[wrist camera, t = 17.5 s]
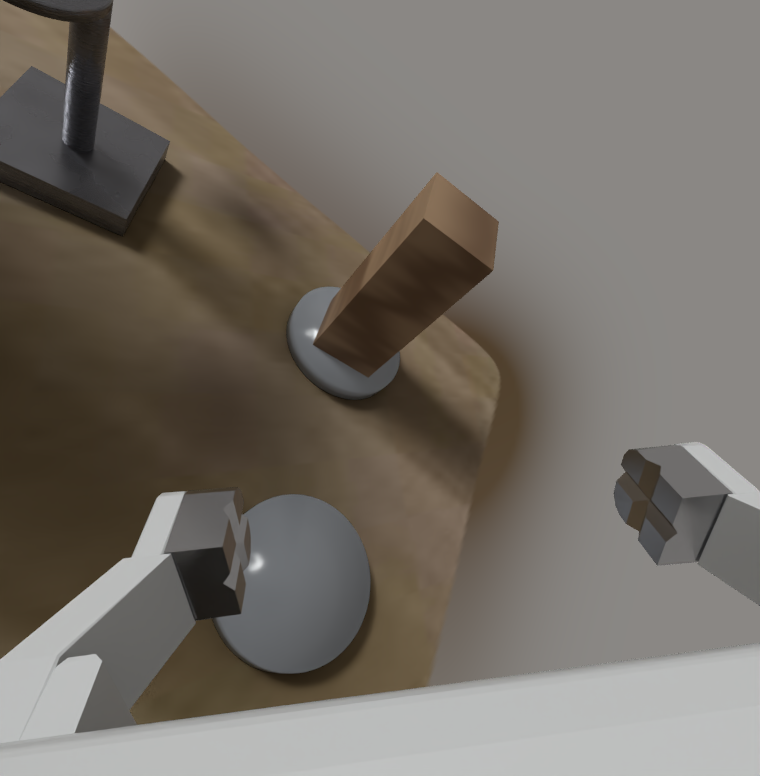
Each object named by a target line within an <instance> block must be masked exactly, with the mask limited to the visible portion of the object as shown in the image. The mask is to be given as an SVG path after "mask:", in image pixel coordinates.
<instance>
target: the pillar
mask: <svg viewBox="0 0 760 776" xmlns="http://www.w3.org/2000/svg"><path fill="white" fill-rule="evenodd" d="M498 223H499V222H498V221H497V220H496V219H495V218H493V217H492V216H491V215H490V214H488V213H487V212H486V211H485V210H483V209H482V208H481V207H480V206H478V205H477V204H476V203H475V202H474V201H472V200H471V199H470V198H469V197H467V196H466V195H465V194H463V193H462V192H461V191H460V190H458V189H457V188H456V187H455V186H454V185H452V184H451V183H450V182H449V181H447V180H446V179H445V178H444V177H442V176H441V175H440V174H438V173H436V174H435V175H434V176H433V177H432V179H431V180H430V181H429V182H428V183H427V185H426V186H425V187H424V189H423V190H422V191H421V192H420V193H419V194H418V196H417V197H416V198H415V199H414V200H413V202H412V203H411V204H410V205H409V207H408V208H407V209H406V210H405V211H404V213H403V214H402V215H401V216H400V217H399V219H398V220H397V221H396V222H395V224H394V225H393V226H392V227H391V228H390V230H389V231H388V232H387V233H386V234H385V236H384V237H383V238H382V239H381V241H380V242H379V243H378V244H377V245H376V247H375V248H374V249H373V250H372V251H371V253H370V254H369V255H368V256H367V258H366V259H365V260H364V261H363V262H362V264H361V265H360V266H359V267H358V268H357V270H356V271H355V272H354V273H353V275H352V276H351V277H350V278H349V279H348V281H347V282H346V283H345V284H344V285H343V287H342V288H341V289H340V290H339V292H338V293H337V294H336V295H335V296H334V298H333V299H332V300H331V302H330V304H329V307H328V309H327V311H326V314H325V316H324V319H323V321H322V323H321V326H320V328H319V330H318V333H317V335H316V338H315V340H314V342H313V345H314V346H316V347H317V348H319V349H321V350H322V351H324V352H326V353H327V354H329V355H331V356H332V357H334V358H336V359H338V360H339V361H341V362H343V363H344V364H346V365H348V366H349V367H351V368H353V369H354V370H356V371H358V372H360V373H361V374H363V375H365V376H366V377H368V378H369V377H370V376H371V375H372V374H373V373H374V372H375V371H377V370H378V369H379V368H380V367H381V366H382V365H384V364H385V363H386V362H387V361H388V360H389V359H391V358H392V357H393V356H394V355H395V354H396V353H398V352H399V351H400V350H401V349H402V348H403V347H405V346H406V345H407V344H408V343H409V342H410V341H412V340H413V339H414V338H415V337H416V336H417V335H419V334H420V333H421V332H422V331H423V330H424V329H426V328H427V327H428V326H429V325H430V324H431V323H433V322H434V321H435V320H436V319H437V318H438V317H440V316H441V315H442V314H443V313H444V312H445V311H447V310H448V309H449V308H450V307H451V306H452V305H454V304H455V303H456V302H457V301H458V300H459V299H461V298H462V297H463V296H464V295H465V294H466V293H468V292H469V291H470V290H471V289H472V288H473V287H475V286H476V285H477V284H478V283H479V282H480V281H482V280H483V279H484V278H485V277H486V276H487V275H489V274H490V273H491V272H492V271H493V268H494V259H495V250H496V241H497V232H498Z"/></svg>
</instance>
